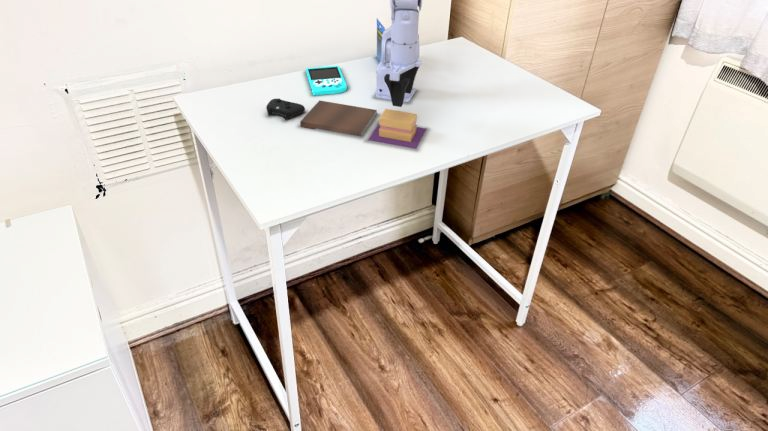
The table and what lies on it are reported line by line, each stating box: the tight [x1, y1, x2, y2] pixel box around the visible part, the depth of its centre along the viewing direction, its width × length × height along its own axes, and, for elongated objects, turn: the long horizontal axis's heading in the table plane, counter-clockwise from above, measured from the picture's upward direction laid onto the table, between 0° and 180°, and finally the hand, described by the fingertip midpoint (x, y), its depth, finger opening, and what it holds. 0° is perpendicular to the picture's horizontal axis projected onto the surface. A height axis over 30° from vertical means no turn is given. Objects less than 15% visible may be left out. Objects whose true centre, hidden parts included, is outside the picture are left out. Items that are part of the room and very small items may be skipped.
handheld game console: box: [305, 65, 348, 96], centre depth 150 cm, size 10×16×1 cm, turn 14°
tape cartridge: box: [376, 18, 391, 62], centre depth 158 cm, size 9×4×12 cm, turn 17°
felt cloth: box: [367, 123, 427, 150], centre depth 128 cm, size 12×10×1 cm
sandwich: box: [378, 108, 418, 142], centre depth 126 cm, size 8×5×5 cm, turn 72°
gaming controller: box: [265, 98, 306, 121], centre depth 135 cm, size 10×5×6 cm
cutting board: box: [300, 100, 378, 138], centre depth 132 cm, size 16×12×2 cm
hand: (402, 99), depth 122 cm, fingers open, 7 cm apart
